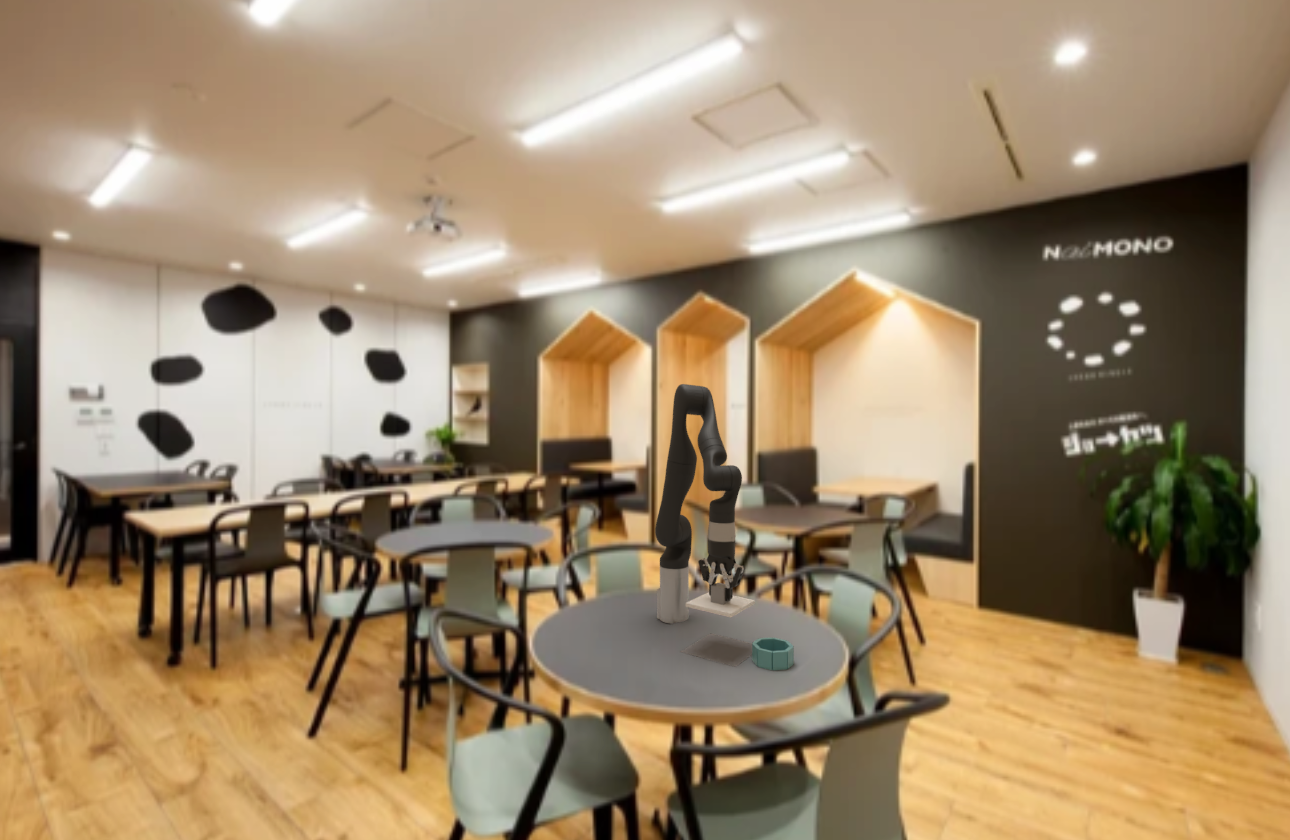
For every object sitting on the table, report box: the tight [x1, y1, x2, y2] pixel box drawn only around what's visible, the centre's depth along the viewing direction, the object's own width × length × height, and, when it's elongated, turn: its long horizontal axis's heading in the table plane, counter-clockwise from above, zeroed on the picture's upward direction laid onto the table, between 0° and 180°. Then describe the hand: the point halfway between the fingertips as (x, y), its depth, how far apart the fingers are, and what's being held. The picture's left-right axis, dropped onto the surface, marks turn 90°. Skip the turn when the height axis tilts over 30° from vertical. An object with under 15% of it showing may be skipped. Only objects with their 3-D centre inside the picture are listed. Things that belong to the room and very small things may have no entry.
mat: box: [679, 633, 753, 668], centre depth 169 cm, size 17×17×1 cm
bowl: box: [751, 637, 795, 671], centre depth 160 cm, size 10×10×5 cm
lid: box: [686, 582, 756, 618], centre depth 169 cm, size 14×14×6 cm
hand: (720, 598), depth 169 cm, fingers closed on lid, 4 cm apart
